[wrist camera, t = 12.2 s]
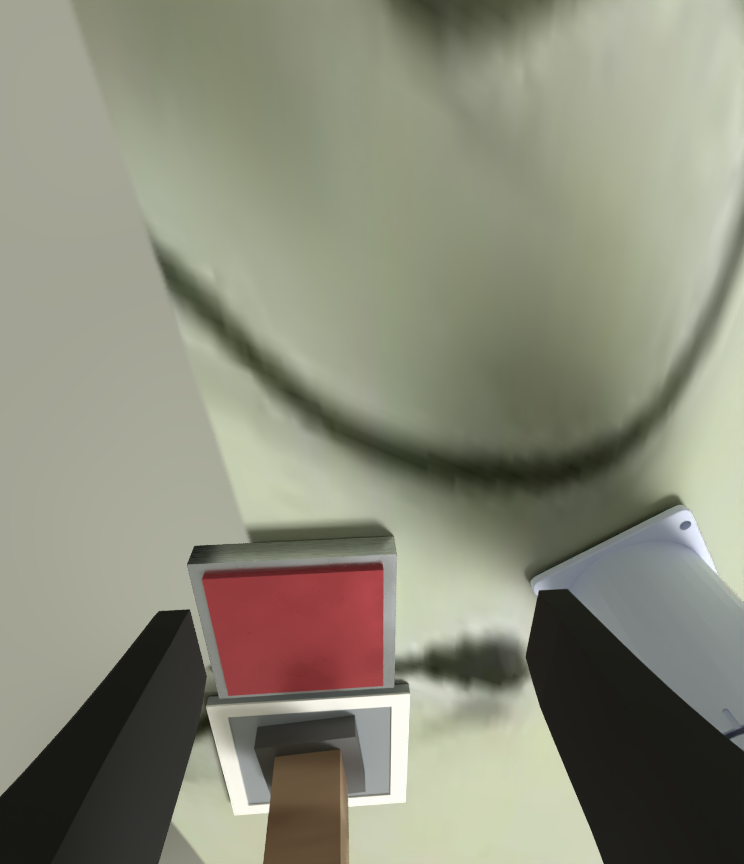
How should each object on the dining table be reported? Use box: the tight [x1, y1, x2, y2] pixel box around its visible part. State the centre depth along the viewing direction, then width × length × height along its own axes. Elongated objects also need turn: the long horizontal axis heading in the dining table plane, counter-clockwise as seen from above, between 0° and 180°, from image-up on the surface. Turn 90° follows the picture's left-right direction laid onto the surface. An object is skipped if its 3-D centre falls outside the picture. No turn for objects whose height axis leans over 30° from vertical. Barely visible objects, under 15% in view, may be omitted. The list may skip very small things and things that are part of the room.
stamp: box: [254, 715, 366, 864], centre depth 26 cm, size 6×6×6 cm
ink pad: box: [187, 536, 397, 699], centre depth 23 cm, size 9×9×2 cm
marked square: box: [206, 684, 410, 815], centre depth 29 cm, size 11×11×1 cm
